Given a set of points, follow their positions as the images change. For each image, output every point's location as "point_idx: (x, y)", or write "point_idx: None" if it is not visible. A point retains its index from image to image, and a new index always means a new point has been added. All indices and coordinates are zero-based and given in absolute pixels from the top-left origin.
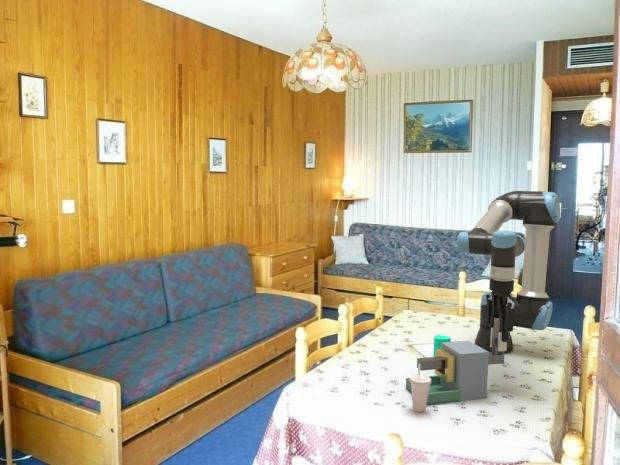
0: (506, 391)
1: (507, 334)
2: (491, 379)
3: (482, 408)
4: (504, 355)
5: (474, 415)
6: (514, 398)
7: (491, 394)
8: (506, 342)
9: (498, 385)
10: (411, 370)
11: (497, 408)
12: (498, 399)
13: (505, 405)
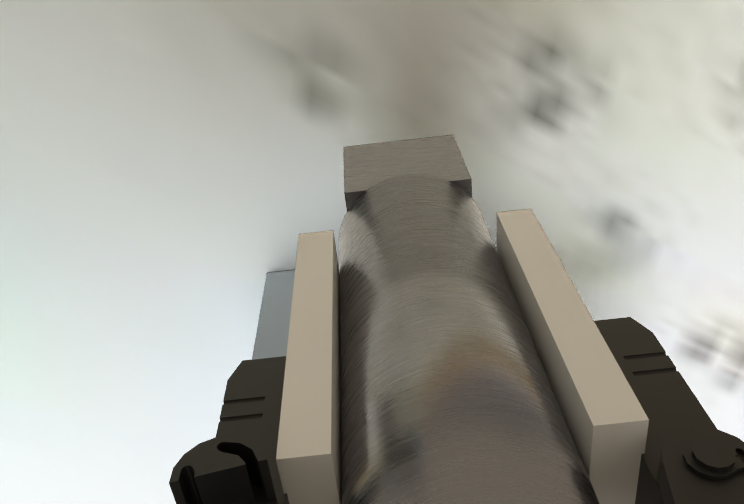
0: (457, 39)
1: (705, 420)
2: (179, 34)
3: (667, 332)
4: (467, 172)
5: (727, 402)
6: (599, 48)
7: (487, 185)
8: (568, 283)
9: (323, 41)
10: (21, 501)
11: (701, 250)
12: (580, 178)
13: (682, 179)
